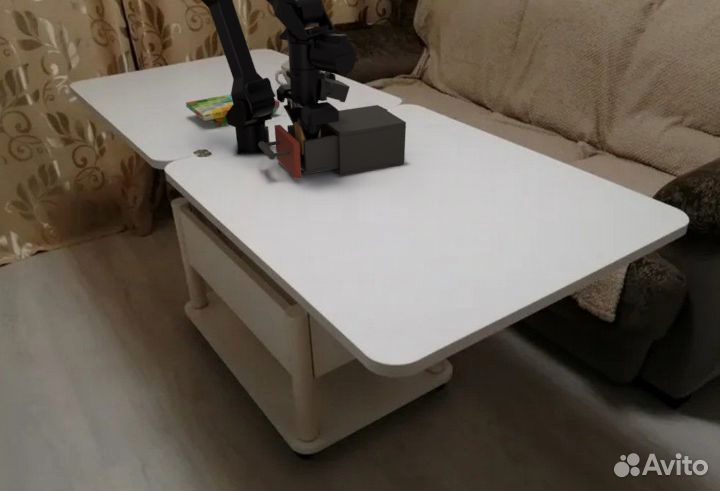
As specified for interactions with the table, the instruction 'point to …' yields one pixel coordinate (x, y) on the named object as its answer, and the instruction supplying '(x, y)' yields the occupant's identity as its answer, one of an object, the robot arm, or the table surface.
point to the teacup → (284, 73)
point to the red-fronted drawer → (316, 151)
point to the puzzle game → (216, 108)
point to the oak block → (301, 136)
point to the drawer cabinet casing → (368, 139)
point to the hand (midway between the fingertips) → (308, 145)
